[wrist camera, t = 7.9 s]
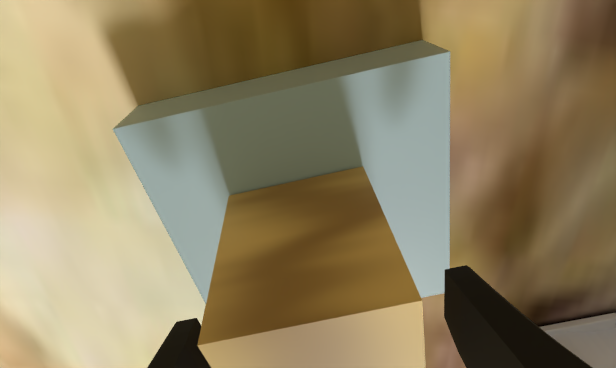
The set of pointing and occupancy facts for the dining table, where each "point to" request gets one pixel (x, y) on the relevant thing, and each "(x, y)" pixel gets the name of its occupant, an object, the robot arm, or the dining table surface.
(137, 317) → the dining table surface
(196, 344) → the robot arm
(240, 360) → the ochre block
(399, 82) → the base block
